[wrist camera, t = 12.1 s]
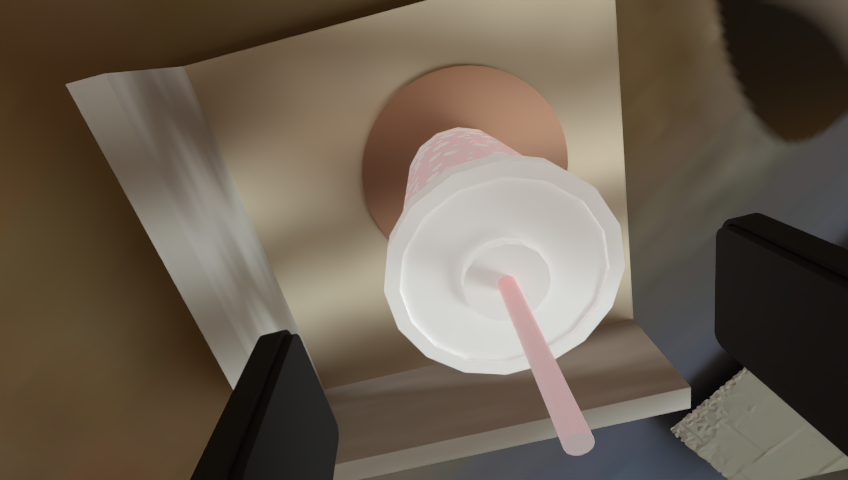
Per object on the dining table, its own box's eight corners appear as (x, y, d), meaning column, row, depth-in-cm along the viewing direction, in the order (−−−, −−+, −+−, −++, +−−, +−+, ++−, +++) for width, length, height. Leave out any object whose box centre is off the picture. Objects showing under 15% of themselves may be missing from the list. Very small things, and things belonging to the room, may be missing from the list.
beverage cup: (529, 237, 21) (741, 551, 8) (398, 250, 20) (396, 589, 8) (530, 101, 18) (845, 233, 5) (382, 115, 18) (337, 285, 5)
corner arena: (627, 328, 24) (690, 408, 19) (313, 399, 25) (290, 494, 20) (603, -47, 17) (695, -89, 12) (164, 73, 18) (65, 83, 13)
